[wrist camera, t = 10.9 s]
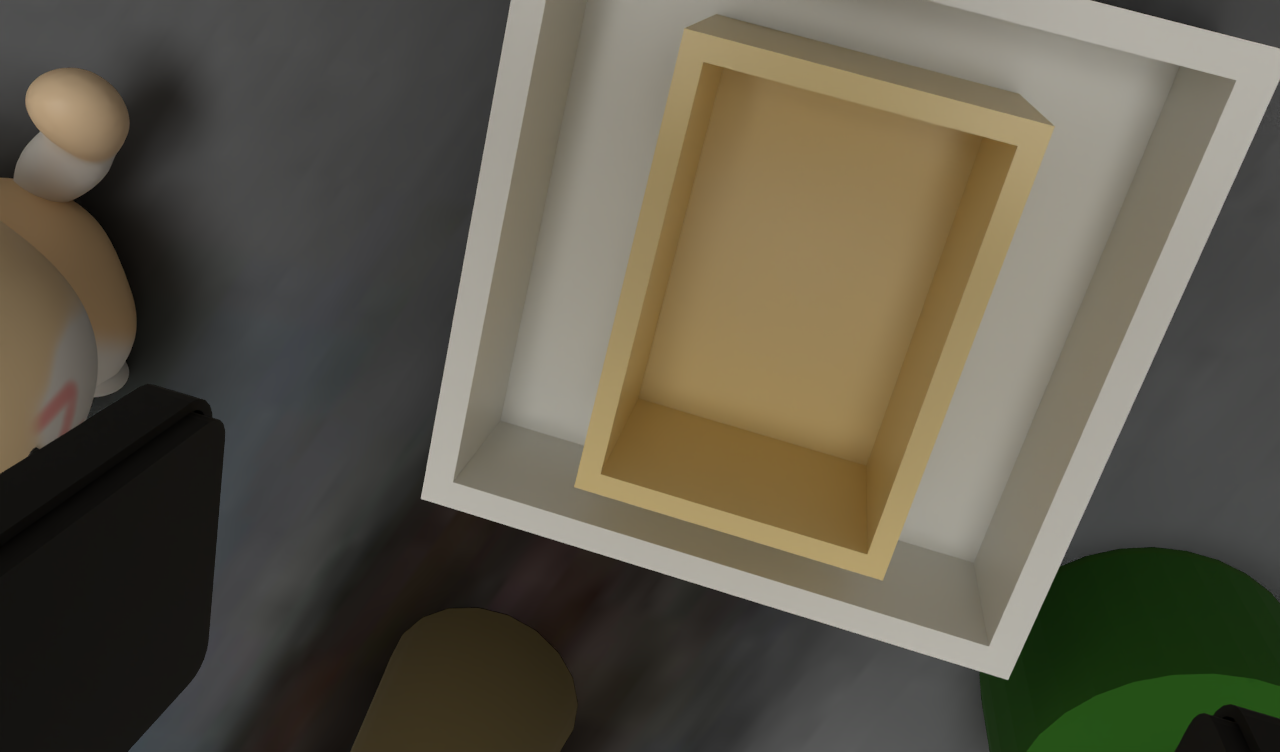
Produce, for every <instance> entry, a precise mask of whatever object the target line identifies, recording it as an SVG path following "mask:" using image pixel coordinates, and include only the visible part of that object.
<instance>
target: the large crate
mask: <svg viewBox="0 0 1280 752" xmlns="http://www.w3.org/2000/svg"><path fill="white" fill-rule="evenodd" d="M716 14H718V15H721V16H725V17H729V18H733V19H737V20H740V21H744V22H748V23H752V24H756V25H759V26H763V27H767V28H771V29H775V30H778V31H782V32H786V33H790V34H794V35H797V36H801V37H805V38H809V39H813V40H816V41H820V42H824V43H828V44H832V45H835V46H839V47H843V48H847V49H851V50H854V51H858V52H862V53H866V54H870V55H874V56H877V57H881V58H885V59H889V60H893V61H896V62H900V63H904V64H908V65H912V66H915V67H919V68H923V69H927V70H931V71H934V72H938V73H942V74H946V75H950V76H953V77H957V78H961V79H965V80H969V81H972V82H976V83H980V84H984V85H988V86H991V87H995V88H999V89H1003V90H1007V91H1010V92H1014V93H1018V94H1020V95H1021V96H1022V97H1023V98H1024V99H1025V100H1027V101H1028V102H1029V103H1030V104H1031V105H1032V106H1033V107H1034V108H1035V109H1036V110H1038V111H1039V112H1040V113H1041V114H1042V115H1043V116H1044V117H1045V118H1046V119H1047V120H1048V121H1050V122H1051V123H1052V124H1053V125H1054V126H1055V128H1054V130H1053V133H1052V136H1051V138H1050V141H1049V143H1048V146H1047V149H1046V151H1045V154H1044V157H1043V159H1042V162H1041V165H1040V167H1039V170H1038V172H1037V175H1036V178H1035V180H1034V183H1033V186H1032V188H1031V191H1030V194H1029V196H1028V199H1027V201H1026V204H1025V207H1024V209H1023V212H1022V215H1021V217H1020V220H1019V223H1018V225H1017V228H1016V231H1015V233H1014V236H1013V238H1012V241H1011V244H1010V246H1009V249H1008V252H1007V254H1006V257H1005V260H1004V262H1003V265H1002V267H1001V270H1000V273H999V275H998V278H997V281H996V283H995V286H994V289H993V291H992V294H991V296H990V299H989V302H988V304H987V307H986V310H985V312H984V315H983V318H982V320H981V323H980V326H979V328H978V331H977V333H976V336H975V339H974V341H973V344H972V347H971V349H970V352H969V355H968V357H967V360H966V362H965V365H964V368H963V370H962V373H961V376H960V378H959V381H958V384H957V386H956V389H955V391H954V394H953V397H952V399H951V402H950V405H949V407H948V410H947V413H946V415H945V418H944V421H943V423H942V426H941V428H940V431H939V434H938V436H937V439H936V442H935V444H934V447H933V450H932V452H931V455H930V457H929V460H928V463H927V465H926V468H925V471H924V473H923V476H922V479H921V481H920V484H919V486H918V489H917V492H916V494H915V497H914V500H913V502H912V505H911V508H910V510H909V513H908V516H907V518H906V521H905V523H904V526H903V529H902V531H901V534H900V537H899V539H898V542H897V545H896V547H895V550H894V552H893V555H892V558H891V560H890V563H889V566H888V568H887V571H886V574H885V576H884V579H883V581H882V580H879V579H875V578H872V577H869V576H865V575H862V574H859V573H856V572H852V571H849V570H846V569H842V568H839V567H836V566H832V565H829V564H826V563H823V562H819V561H816V560H813V559H809V558H806V557H803V556H799V555H796V554H793V553H790V552H786V551H783V550H780V549H776V548H773V547H770V546H766V545H763V544H760V543H757V542H753V541H750V540H747V539H743V538H740V537H737V536H733V535H730V534H727V533H724V532H720V531H717V530H714V529H710V528H707V527H704V526H700V525H697V524H694V523H691V522H687V521H684V520H681V519H677V518H674V517H671V516H667V515H664V514H661V513H658V512H654V511H651V510H648V509H644V508H641V507H638V506H634V505H631V504H628V503H625V502H621V501H618V500H615V499H611V498H608V497H605V496H601V495H598V494H595V493H592V492H588V491H585V490H582V489H578V488H575V487H574V485H575V481H576V477H577V473H578V469H579V464H580V460H581V456H582V452H583V448H584V444H585V439H586V435H587V431H588V427H589V423H590V419H591V414H592V410H593V406H594V402H595V398H596V394H597V389H598V385H599V381H600V377H601V373H602V369H603V364H604V360H605V356H606V352H607V348H608V344H609V339H610V335H611V331H612V327H613V323H614V319H615V314H616V310H617V306H618V302H619V298H620V294H621V289H622V285H623V281H624V277H625V273H626V269H627V264H628V260H629V256H630V252H631V248H632V244H633V239H634V235H635V231H636V227H637V223H638V219H639V215H640V210H641V206H642V202H643V198H644V194H645V190H646V185H647V181H648V177H649V173H650V169H651V165H652V160H653V156H654V152H655V148H656V144H657V140H658V135H659V131H660V127H661V123H662V119H663V115H664V110H665V106H666V102H667V98H668V94H669V90H670V85H671V81H672V77H673V73H674V69H675V65H676V60H677V56H678V52H679V48H680V44H681V40H682V35H683V31H684V28H686V27H688V26H690V25H693V24H695V23H697V22H700V21H702V20H704V19H706V18H709V17H711V16H713V15H716ZM1279 80H1280V49H1279V48H1275V47H1271V46H1267V45H1263V44H1259V43H1255V42H1252V41H1248V40H1244V39H1240V38H1236V37H1232V36H1228V35H1224V34H1220V33H1216V32H1213V31H1209V30H1205V29H1201V28H1197V27H1193V26H1189V25H1185V24H1181V23H1177V22H1173V21H1170V20H1166V19H1162V18H1158V17H1154V16H1150V15H1146V14H1142V13H1138V12H1134V11H1131V10H1127V9H1123V8H1119V7H1115V6H1111V5H1107V4H1103V3H1099V2H1095V1H1092V0H511V3H510V8H509V14H508V19H507V25H506V31H505V36H504V42H503V47H502V53H501V58H500V64H499V69H498V75H497V80H496V86H495V91H494V97H493V102H492V108H491V114H490V119H489V125H488V130H487V136H486V141H485V147H484V152H483V158H482V163H481V169H480V174H479V180H478V185H477V191H476V197H475V202H474V208H473V213H472V219H471V224H470V230H469V235H468V241H467V246H466V252H465V257H464V263H463V268H462V274H461V280H460V285H459V291H458V296H457V302H456V307H455V313H454V318H453V324H452V329H451V335H450V340H449V346H448V351H447V357H446V363H445V368H444V374H443V379H442V385H441V390H440V396H439V401H438V407H437V412H436V418H435V423H434V429H433V434H432V440H431V445H430V451H429V457H428V462H427V468H426V473H425V479H424V484H423V490H422V495H421V499H423V500H427V501H430V502H433V503H436V504H440V505H443V506H446V507H449V508H453V509H456V510H459V511H462V512H465V513H469V514H472V515H475V516H478V517H482V518H485V519H488V520H491V521H495V522H498V523H501V524H504V525H508V526H511V527H514V528H517V529H521V530H524V531H527V532H530V533H533V534H537V535H540V536H543V537H546V538H550V539H553V540H556V541H559V542H563V543H566V544H569V545H572V546H576V547H579V548H582V549H585V550H588V551H592V552H595V553H598V554H601V555H605V556H608V557H611V558H614V559H618V560H621V561H624V562H627V563H631V564H634V565H637V566H640V567H644V568H647V569H650V570H653V571H656V572H660V573H663V574H666V575H669V576H673V577H676V578H679V579H682V580H686V581H689V582H692V583H695V584H699V585H702V586H705V587H708V588H712V589H715V590H718V591H721V592H724V593H728V594H731V595H734V596H737V597H741V598H744V599H747V600H750V601H754V602H757V603H760V604H763V605H767V606H770V607H773V608H776V609H779V610H783V611H786V612H789V613H792V614H796V615H799V616H802V617H805V618H809V619H812V620H815V621H818V622H822V623H825V624H828V625H831V626H835V627H838V628H841V629H844V630H847V631H851V632H854V633H857V634H860V635H864V636H867V637H870V638H873V639H877V640H880V641H883V642H886V643H890V644H893V645H896V646H899V647H902V648H906V649H909V650H912V651H915V652H919V653H922V654H925V655H928V656H932V657H935V658H938V659H941V660H945V661H948V662H951V663H954V664H958V665H961V666H964V667H967V668H970V669H974V670H977V671H980V672H983V673H987V674H990V675H993V676H996V677H1000V678H1003V679H1006V680H1008V679H1009V677H1010V675H1011V673H1012V670H1013V668H1014V666H1015V664H1016V662H1017V659H1018V657H1019V655H1020V653H1021V651H1022V648H1023V646H1024V644H1025V642H1026V640H1027V637H1028V635H1029V633H1030V631H1031V628H1032V626H1033V624H1034V622H1035V620H1036V617H1037V615H1038V613H1039V611H1040V609H1041V606H1042V604H1043V602H1044V600H1045V597H1046V595H1047V593H1048V591H1049V589H1050V586H1051V584H1052V582H1053V580H1054V578H1055V575H1056V573H1057V571H1058V569H1059V567H1060V564H1061V562H1062V560H1063V558H1064V555H1065V553H1066V551H1067V549H1068V547H1069V544H1070V542H1071V540H1072V538H1073V536H1074V533H1075V531H1076V529H1077V527H1078V525H1079V522H1080V520H1081V518H1082V516H1083V513H1084V511H1085V509H1086V507H1087V505H1088V502H1089V500H1090V498H1091V496H1092V494H1093V491H1094V489H1095V487H1096V485H1097V482H1098V480H1099V478H1100V476H1101V474H1102V471H1103V469H1104V467H1105V465H1106V463H1107V460H1108V458H1109V456H1110V454H1111V452H1112V449H1113V447H1114V445H1115V443H1116V440H1117V438H1118V436H1119V434H1120V432H1121V429H1122V427H1123V425H1124V423H1125V421H1126V418H1127V416H1128V414H1129V412H1130V410H1131V407H1132V405H1133V403H1134V401H1135V398H1136V396H1137V394H1138V392H1139V390H1140V387H1141V385H1142V383H1143V381H1144V379H1145V376H1146V374H1147V372H1148V370H1149V367H1150V365H1151V363H1152V361H1153V359H1154V356H1155V354H1156V352H1157V350H1158V348H1159V345H1160V343H1161V341H1162V339H1163V337H1164V334H1165V332H1166V330H1167V328H1168V325H1169V323H1170V321H1171V319H1172V317H1173V314H1174V312H1175V310H1176V308H1177V306H1178V303H1179V301H1180V299H1181V297H1182V294H1183V292H1184V290H1185V288H1186V286H1187V283H1188V281H1189V279H1190V277H1191V275H1192V272H1193V270H1194V268H1195V266H1196V264H1197V261H1198V259H1199V257H1200V255H1201V252H1202V250H1203V248H1204V246H1205V244H1206V241H1207V239H1208V237H1209V235H1210V233H1211V230H1212V228H1213V226H1214V224H1215V222H1216V219H1217V217H1218V215H1219V213H1220V210H1221V208H1222V206H1223V204H1224V202H1225V199H1226V197H1227V195H1228V193H1229V191H1230V188H1231V186H1232V184H1233V182H1234V179H1235V177H1236V175H1237V173H1238V171H1239V168H1240V166H1241V164H1242V162H1243V160H1244V157H1245V155H1246V153H1247V151H1248V149H1249V146H1250V144H1251V142H1252V140H1253V137H1254V135H1255V133H1256V131H1257V129H1258V126H1259V124H1260V122H1261V120H1262V118H1263V115H1264V113H1265V111H1266V109H1267V107H1268V104H1269V102H1270V100H1271V98H1272V95H1273V93H1274V91H1275V89H1276V87H1277V84H1278V82H1279Z"/></svg>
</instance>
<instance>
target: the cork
mask: <svg viewBox="0 0 1280 752" xmlns="http://www.w3.org/2000/svg"><path fill="white" fill-rule="evenodd" d="M577 706H578V703H577V697H576V692H575V687H574V682H573V678H572V676H571V674H570V672H569V671H568V669H567V667H566V665H565V663H564V662H563V660H562V658H561V656H560V655H559V653H558V652H557V651H556V650H555V649H554V648H553V647H552V646H551V645H550V644H549V643H548V642H547V641H546V640H545V639H544V638H543V637H542V636H541V635H540V634H539V633H538V632H537V631H535V630H534V629H532V628H530V627H528V626H526V625H525V624H523V623H521V622H519V621H517V620H516V619H514V618H512V617H510V616H508V615H505V614H501V613H497V612H493V611H489V610H485V609H481V608H451V609H446V610H443V611H440V612H437V613H434V614H432V615H429V616H426V617H423V618H421V619H420V620H419V621H418V622H417V623H415V624H414V625H413V626H412V627H411V628H410V629H408V630H407V631H406V632H405V633H404V634H403V635H402V637H401V639H400V640H399V642H398V644H397V646H396V648H395V650H394V652H393V654H392V656H391V658H390V660H389V663H388V665H387V667H386V670H385V672H384V674H383V677H382V679H381V681H380V684H379V686H378V689H377V691H376V693H375V696H374V698H373V700H372V703H371V705H370V707H369V710H368V712H367V714H366V717H365V719H364V721H363V724H362V726H361V728H360V731H359V733H358V735H357V738H356V740H355V742H354V745H353V747H352V749H351V752H560V750H561V749H562V747H563V746H564V744H565V742H566V741H567V739H568V737H569V736H570V734H571V732H572V731H573V729H574V723H575V718H576V712H577Z"/></svg>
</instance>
